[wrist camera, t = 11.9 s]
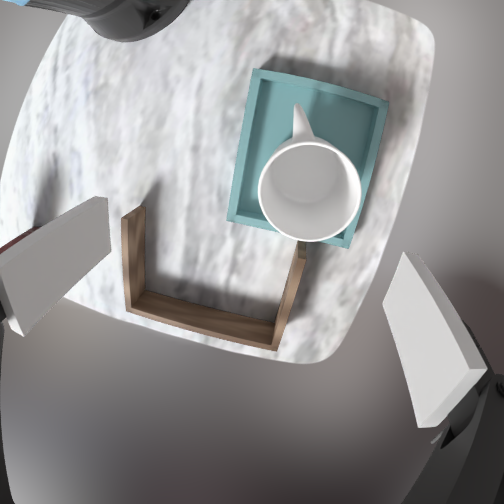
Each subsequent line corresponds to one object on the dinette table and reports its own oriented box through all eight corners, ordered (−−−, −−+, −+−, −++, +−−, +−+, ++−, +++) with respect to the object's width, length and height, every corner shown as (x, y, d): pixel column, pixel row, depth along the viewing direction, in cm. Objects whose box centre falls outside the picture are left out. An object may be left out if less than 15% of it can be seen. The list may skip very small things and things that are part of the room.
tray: (256, 71, 29) (253, 68, 27) (382, 102, 28) (389, 101, 26) (230, 213, 37) (226, 220, 35) (345, 240, 36) (348, 248, 34)
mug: (335, 103, 29) (352, 95, 19) (345, 203, 34) (363, 238, 24) (259, 110, 30) (243, 106, 21) (274, 209, 35) (265, 246, 26)
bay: (139, 205, 38) (121, 218, 34) (305, 241, 37) (306, 259, 33) (140, 293, 45) (126, 311, 41) (279, 328, 44) (276, 351, 40)
